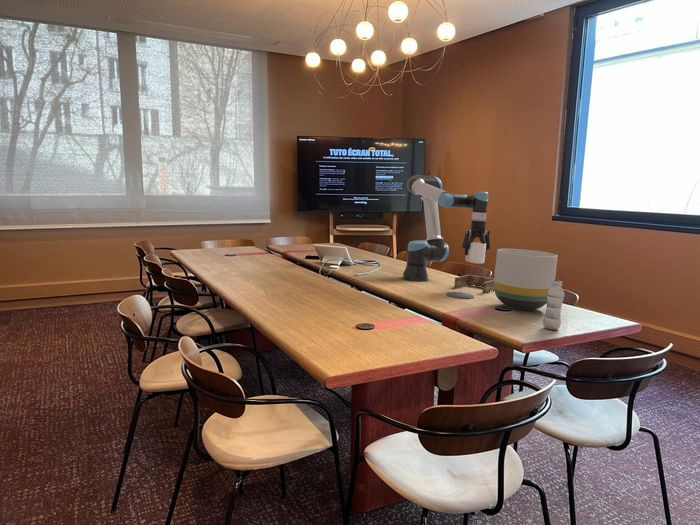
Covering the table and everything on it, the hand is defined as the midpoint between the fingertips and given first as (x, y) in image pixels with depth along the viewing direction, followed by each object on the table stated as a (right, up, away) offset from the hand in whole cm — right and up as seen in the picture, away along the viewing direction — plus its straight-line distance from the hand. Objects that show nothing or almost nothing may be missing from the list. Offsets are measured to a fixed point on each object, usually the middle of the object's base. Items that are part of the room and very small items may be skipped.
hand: (474, 261), depth 260 cm
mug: (+1, -1, 0) cm, 1 cm away
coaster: (-11, -18, -14) cm, 26 cm away
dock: (+2, -16, +7) cm, 17 cm away
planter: (+13, -23, -35) cm, 44 cm away
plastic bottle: (+13, -28, -69) cm, 75 cm away
